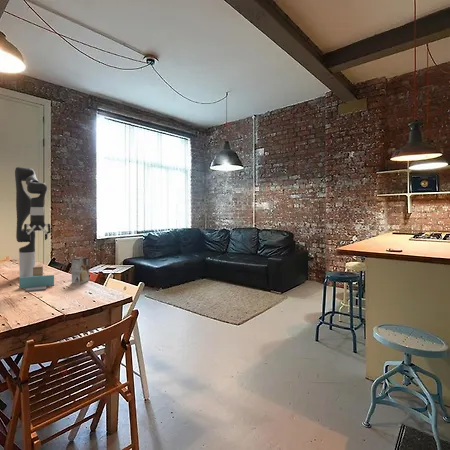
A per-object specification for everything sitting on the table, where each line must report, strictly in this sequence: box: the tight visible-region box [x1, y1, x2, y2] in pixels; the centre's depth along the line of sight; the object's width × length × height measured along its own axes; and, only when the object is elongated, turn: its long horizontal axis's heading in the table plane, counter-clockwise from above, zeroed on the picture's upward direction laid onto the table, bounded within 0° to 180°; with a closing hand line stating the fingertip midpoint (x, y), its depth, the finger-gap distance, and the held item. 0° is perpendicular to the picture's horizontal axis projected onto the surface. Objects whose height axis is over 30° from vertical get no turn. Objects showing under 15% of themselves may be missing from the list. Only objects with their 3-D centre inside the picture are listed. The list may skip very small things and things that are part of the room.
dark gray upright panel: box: [24, 286, 47, 293], centre depth 178 cm, size 7×10×1 cm
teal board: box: [18, 274, 55, 289], centre depth 184 cm, size 1×18×6 cm, turn 118°
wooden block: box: [33, 265, 44, 276], centre depth 191 cm, size 5×5×11 cm
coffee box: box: [71, 256, 90, 285], centre depth 197 cm, size 9×6×16 cm
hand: (37, 240), depth 190 cm, fingers open, 8 cm apart
